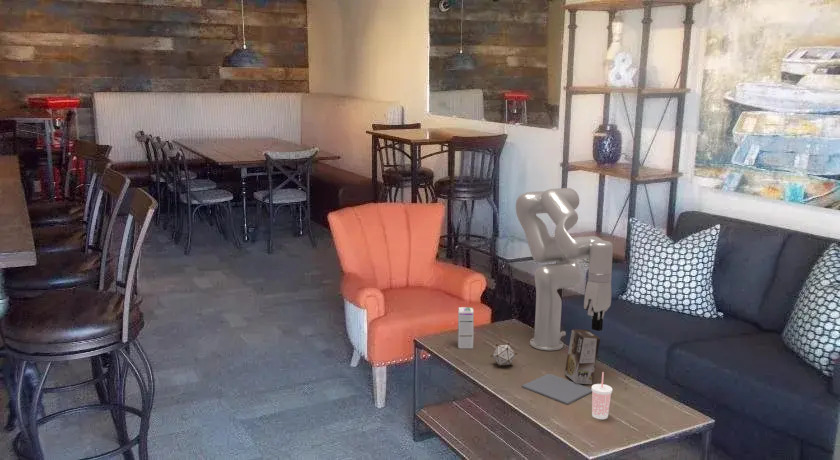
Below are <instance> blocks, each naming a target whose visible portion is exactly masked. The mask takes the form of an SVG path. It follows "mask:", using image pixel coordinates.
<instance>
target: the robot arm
mask: <svg viewBox="0 0 840 460" xmlns="http://www.w3.org/2000/svg"><path fill="white" fill-rule="evenodd" d="M579 205H580V197H579V194H578V192H577V191H576V190H575V189H573V188H571V187H562V188H551V189H550V188H549V189H546V190H545V191H528V192H524V193H522V194H520V195H519V196H518V197H517V199H516V202H515V213H516V217H517V219H518V223H520V225H521V228H522V229H523V231H524V235H525V238H526V241H527V243H528V248H529V251H530V255H531V256H532V259H533V260H534V261H535V263H538V264H540V263H541V264H542V263H543V264H544V265H540V266H539V267H537V268H536V270H535V272H534V282H535V283H534V284H535V291H536V293H535V296H536V297H535V316H534V317H535V318H534V319H535V320H534V335H533V337H532V338H530V340H529V344H530V346H531V347H533V348H534V349H537V350H541V351H551V352H552V351H559V350H561V349H563V347H564V342H563V341H562V340H561V339H562V337H565V336H566V335H567V332H566V331H565V330H561V321H562V319H561V318H562V303H563V302H562V298H561V296H560V294H559V292H558V290H562V289H569V288H573V287H576V286H578V285H579V284H580V282H581V270H580V267H579V264H578V261H577V260H582V259H588V277H587V282H586V286H585V293H584V299H583V308H584V310H585V311H587V316H589V317H591V329H592V330H594V331H597V332H600V331H602V330H603V325H604V318H605V313H606V312H607V311H608V310H609V308H611V304H612V273H613V272H612V268H613V252H614V245H613V243H612V242H611V241H608V240H603V239H602V238H600V237H599V236H596V235H591V236H590V235H589V236H588V235H587V236H576V237H572V236H571V235H570V233H569V232H568V231H569V230H570V229H572V228H573V227H574V226H575V225H576V224H577V222H578V219H579V215H578V213H577V211H576V210H577V209H578V208H579ZM537 214H539V215H540V214H547V215H548V216H549V217H550V219H551V220H552V222H553V223H554V225H555V228H554V229H555V230H554V236H551V235H550V234H549V231H548V228H547V225H546V224H545V222H544V221H543V220H542V219H541V218H540V217H539V216H538V215H537ZM556 262H557V263H556ZM545 263H548V264H545Z"/></svg>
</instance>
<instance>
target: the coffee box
mask: <svg viewBox="0 0 840 460" xmlns="http://www.w3.org/2000/svg"><path fill="white" fill-rule="evenodd" d="M600 342H601V338H600V337H599V336H597V335H596V334H595V333H594V332H592V331H590V330H589V329H575V328H574V329H571V332H570V339H569V345H568V346H569V347H568V350H567V351H568V352H567V358H566V362H565V363H566V364H565V370H564V375H565V376H566V377H568V378H569V379H570V381H572V382H574V383H576V384H580V385H593V382H594V381H593V380H594V375H595V370H596V363H597V359H598V358H597V357H598V354H599V349H600V348H599V347H600Z"/></svg>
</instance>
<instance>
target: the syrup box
mask: <svg viewBox="0 0 840 460" xmlns="http://www.w3.org/2000/svg"><path fill="white" fill-rule="evenodd" d="M457 312H458V314H457V317H458V318H457V319H458V320H457V348H458V349H463V350H464V349H469V350H471V349H472V350H473V349H474V331H475V329H474V318H475V317H474V314H475V313H474V307H469V306H468V307H467V306H463V307H462V306H461V307H460V306H459V307H458V311H457Z"/></svg>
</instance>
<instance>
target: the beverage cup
mask: <svg viewBox="0 0 840 460" xmlns="http://www.w3.org/2000/svg"><path fill="white" fill-rule="evenodd" d="M604 373H605V372H604V371H602V372H601V374H602V375H601V382H600V383H595V384H591V385H592V386H591V390H592V393H591V416H592V417H593V418H595V419H597V420H606V419H608V418H609V412H610V403H611V398H612V397H611V396H612V393H613V388H612V386H610V385H608V384H604V375H605V374H604Z"/></svg>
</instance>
